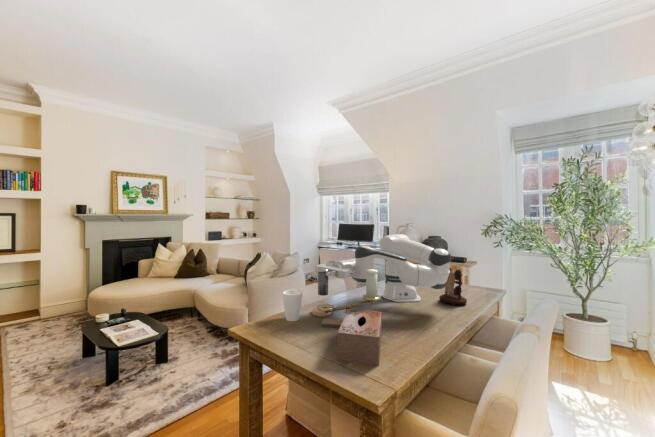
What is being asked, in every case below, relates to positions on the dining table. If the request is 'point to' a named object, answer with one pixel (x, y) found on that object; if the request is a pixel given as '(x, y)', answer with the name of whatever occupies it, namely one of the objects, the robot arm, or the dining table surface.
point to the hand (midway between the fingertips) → (321, 273)
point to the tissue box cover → (360, 337)
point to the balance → (330, 308)
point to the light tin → (371, 283)
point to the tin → (322, 281)
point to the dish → (320, 313)
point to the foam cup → (292, 304)
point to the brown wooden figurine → (453, 289)
